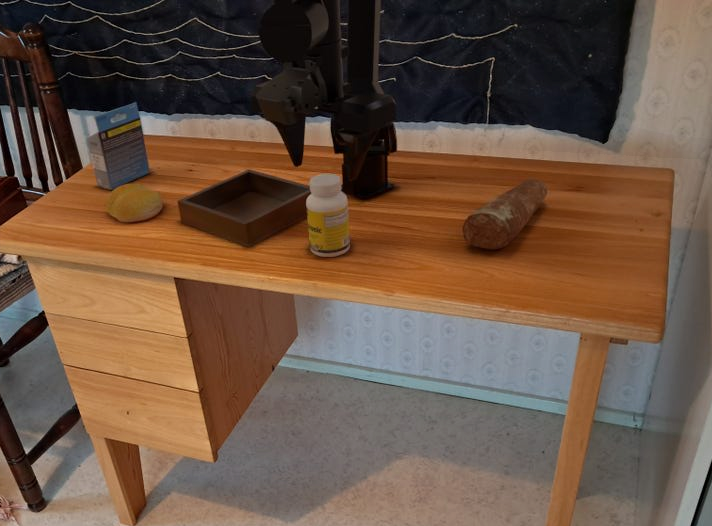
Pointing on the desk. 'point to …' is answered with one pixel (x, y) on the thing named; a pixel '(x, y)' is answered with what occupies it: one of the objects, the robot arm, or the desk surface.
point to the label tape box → (118, 148)
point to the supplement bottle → (327, 216)
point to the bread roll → (133, 203)
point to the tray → (246, 207)
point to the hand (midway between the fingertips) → (324, 172)
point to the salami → (504, 216)
